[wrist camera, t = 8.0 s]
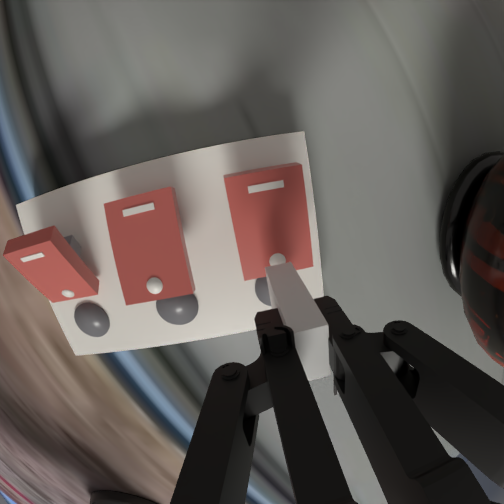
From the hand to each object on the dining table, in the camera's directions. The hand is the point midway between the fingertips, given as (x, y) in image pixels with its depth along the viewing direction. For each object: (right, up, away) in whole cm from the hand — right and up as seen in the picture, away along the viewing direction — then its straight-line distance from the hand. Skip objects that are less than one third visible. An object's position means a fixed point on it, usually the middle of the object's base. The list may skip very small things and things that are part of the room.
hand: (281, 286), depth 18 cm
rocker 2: (-8, +2, +3) cm, 9 cm away
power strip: (-8, +2, +6) cm, 11 cm away
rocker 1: (-16, +2, +2) cm, 16 cm away
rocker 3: (-1, +5, +3) cm, 5 cm away
